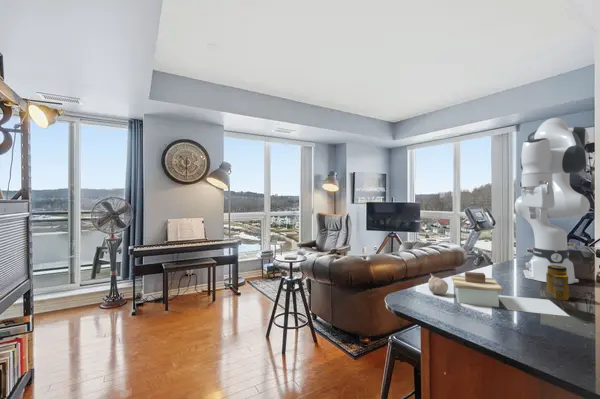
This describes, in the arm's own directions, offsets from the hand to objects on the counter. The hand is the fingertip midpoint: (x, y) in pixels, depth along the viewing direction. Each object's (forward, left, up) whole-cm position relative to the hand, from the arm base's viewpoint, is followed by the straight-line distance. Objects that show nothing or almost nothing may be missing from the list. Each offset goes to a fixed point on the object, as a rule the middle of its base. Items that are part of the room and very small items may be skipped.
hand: (537, 219), depth 106 cm
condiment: (-1, +5, -29) cm, 30 cm away
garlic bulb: (+6, -34, -29) cm, 45 cm away
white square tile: (+10, -6, -29) cm, 31 cm away
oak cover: (+10, -22, -23) cm, 33 cm away
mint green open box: (+10, -22, -29) cm, 38 cm away
